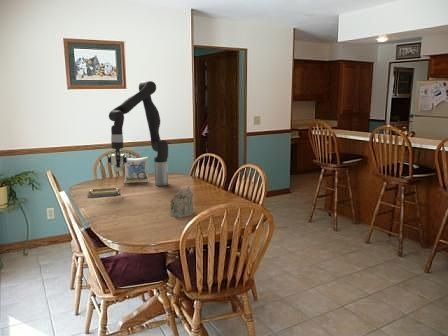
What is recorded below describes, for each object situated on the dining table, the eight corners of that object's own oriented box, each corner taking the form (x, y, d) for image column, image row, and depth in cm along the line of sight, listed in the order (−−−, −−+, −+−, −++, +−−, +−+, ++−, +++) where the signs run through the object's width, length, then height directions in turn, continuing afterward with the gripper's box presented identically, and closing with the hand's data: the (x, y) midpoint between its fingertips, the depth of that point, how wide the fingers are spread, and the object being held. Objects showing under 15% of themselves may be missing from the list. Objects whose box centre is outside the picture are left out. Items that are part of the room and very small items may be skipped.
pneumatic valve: (126, 171, 251) (126, 153, 249) (108, 171, 250) (107, 153, 248) (127, 170, 256) (127, 152, 254) (110, 170, 255) (109, 152, 253)
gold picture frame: (119, 190, 263) (119, 186, 262) (120, 195, 250) (120, 190, 249) (89, 192, 257) (89, 188, 257) (88, 197, 244) (88, 193, 244)
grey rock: (179, 206, 224) (178, 182, 220) (200, 212, 214) (199, 187, 210) (159, 214, 212) (158, 188, 208) (180, 221, 202) (179, 194, 198)
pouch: (124, 182, 289) (122, 156, 286) (149, 180, 293) (148, 155, 289) (123, 184, 282) (122, 157, 278) (149, 183, 285) (148, 156, 282)
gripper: (123, 142, 244) (124, 168, 247) (122, 140, 257) (123, 164, 260) (111, 142, 242) (112, 168, 245) (111, 140, 255) (111, 165, 258)
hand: (118, 166), depth 252 cm, fingers closed on pneumatic valve, 5 cm apart
